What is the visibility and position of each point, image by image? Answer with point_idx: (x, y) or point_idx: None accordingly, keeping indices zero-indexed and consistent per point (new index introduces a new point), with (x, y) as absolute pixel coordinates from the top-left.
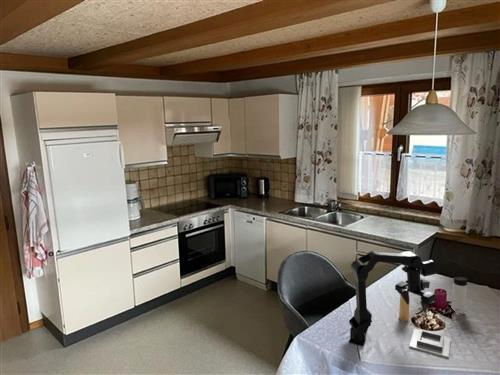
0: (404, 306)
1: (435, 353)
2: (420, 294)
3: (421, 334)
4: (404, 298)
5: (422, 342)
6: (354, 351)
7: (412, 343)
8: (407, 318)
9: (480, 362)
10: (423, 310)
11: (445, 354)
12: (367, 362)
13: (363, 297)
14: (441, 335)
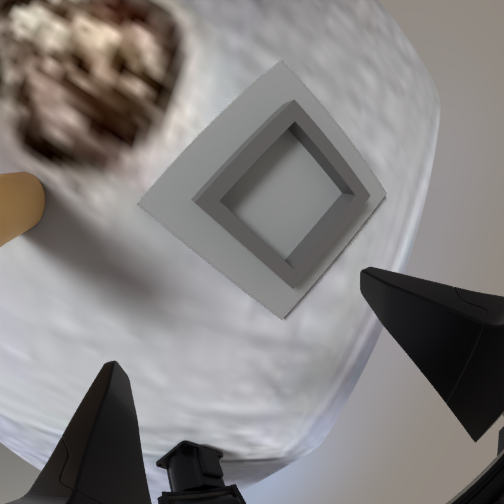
0: None
1: (355, 230)
2: (500, 491)
3: (246, 226)
4: (146, 490)
5: (311, 266)
6: (241, 466)
7: (270, 296)
8: (37, 192)
9: (416, 99)
10: (382, 314)
11: (374, 194)
12: (295, 446)
13: None
14: (293, 115)
